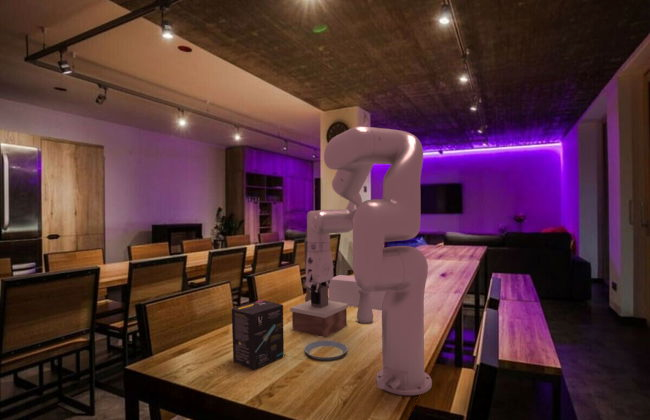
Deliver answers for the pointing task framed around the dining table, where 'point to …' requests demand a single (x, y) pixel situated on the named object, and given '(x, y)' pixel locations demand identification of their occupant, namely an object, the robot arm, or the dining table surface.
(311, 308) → the lid
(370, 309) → the salt shaker
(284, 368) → the dining table surface
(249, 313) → the tampon box
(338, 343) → the saucer
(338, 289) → the pink rectangular block
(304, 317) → the box
